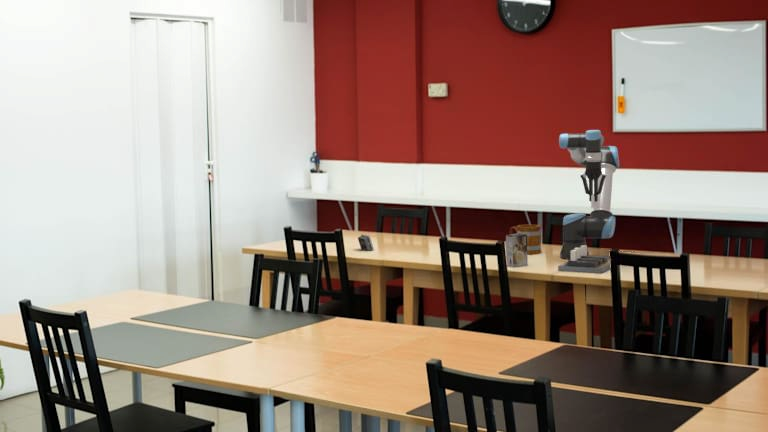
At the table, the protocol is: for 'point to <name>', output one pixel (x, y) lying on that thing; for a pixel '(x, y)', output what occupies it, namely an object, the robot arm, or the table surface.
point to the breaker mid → (578, 252)
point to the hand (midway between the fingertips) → (593, 208)
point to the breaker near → (573, 255)
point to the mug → (530, 237)
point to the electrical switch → (365, 242)
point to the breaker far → (583, 250)
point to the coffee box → (516, 250)
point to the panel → (584, 269)
